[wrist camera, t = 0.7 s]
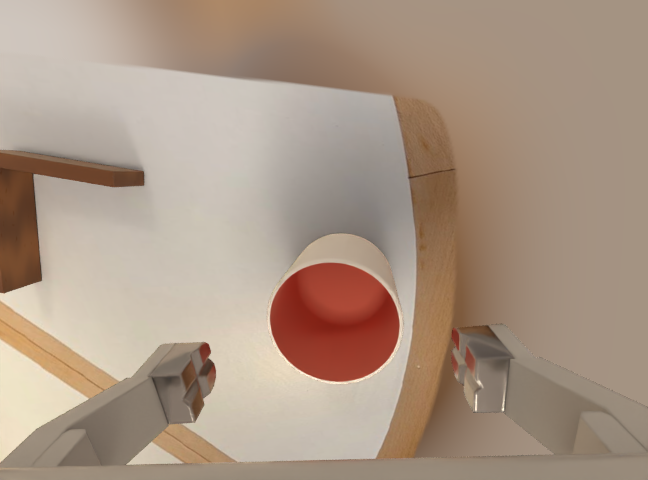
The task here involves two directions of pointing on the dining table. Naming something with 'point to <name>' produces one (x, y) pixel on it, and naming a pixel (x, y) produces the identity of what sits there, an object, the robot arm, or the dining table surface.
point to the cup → (337, 311)
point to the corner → (19, 207)
